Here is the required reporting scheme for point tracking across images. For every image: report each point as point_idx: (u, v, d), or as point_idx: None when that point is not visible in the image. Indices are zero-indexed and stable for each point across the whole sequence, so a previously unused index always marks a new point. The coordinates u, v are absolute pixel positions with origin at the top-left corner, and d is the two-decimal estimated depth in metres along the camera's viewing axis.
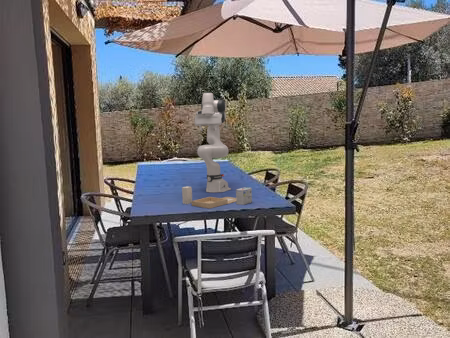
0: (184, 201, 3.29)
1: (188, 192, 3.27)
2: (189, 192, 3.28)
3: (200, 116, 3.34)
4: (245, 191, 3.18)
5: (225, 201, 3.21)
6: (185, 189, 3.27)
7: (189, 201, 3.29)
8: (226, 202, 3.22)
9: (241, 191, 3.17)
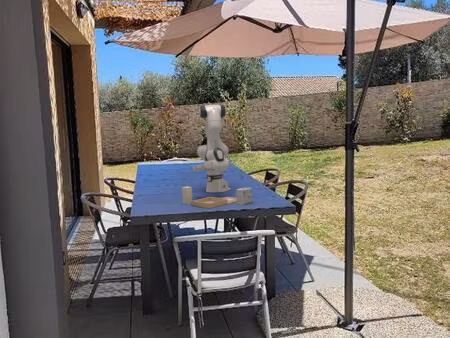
0: (184, 201, 3.29)
1: (188, 192, 3.27)
2: (189, 192, 3.28)
3: (209, 168, 3.37)
4: (245, 191, 3.18)
5: (225, 201, 3.21)
6: (185, 189, 3.27)
7: (189, 201, 3.29)
8: (226, 202, 3.22)
9: (241, 191, 3.17)
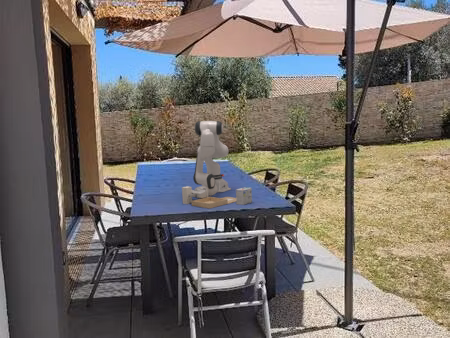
0: (184, 201, 3.29)
1: (187, 192, 3.27)
2: (189, 192, 3.28)
3: None
4: (245, 191, 3.18)
5: (225, 201, 3.21)
6: (185, 189, 3.27)
7: (189, 201, 3.29)
8: (226, 202, 3.22)
9: (241, 191, 3.17)
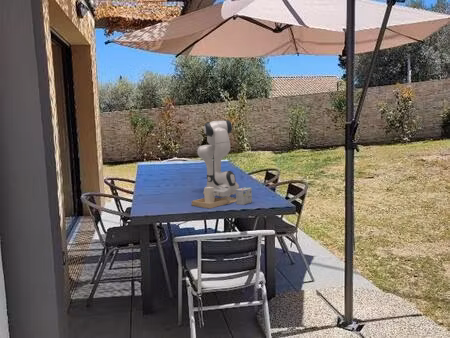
0: (206, 202, 3.20)
1: (210, 193, 3.18)
2: (211, 193, 3.19)
3: None
4: (245, 191, 3.18)
5: (225, 201, 3.21)
6: (207, 189, 3.18)
7: (212, 202, 3.20)
8: (226, 202, 3.22)
9: (241, 191, 3.17)
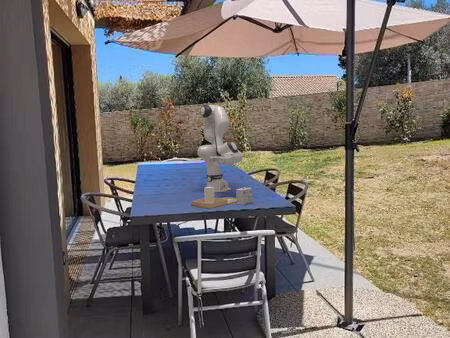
0: (206, 202, 3.20)
1: (210, 193, 3.18)
2: (211, 193, 3.19)
3: None
4: (245, 191, 3.18)
5: (225, 201, 3.21)
6: (207, 189, 3.18)
7: (212, 202, 3.20)
8: (226, 202, 3.22)
9: (241, 191, 3.17)
